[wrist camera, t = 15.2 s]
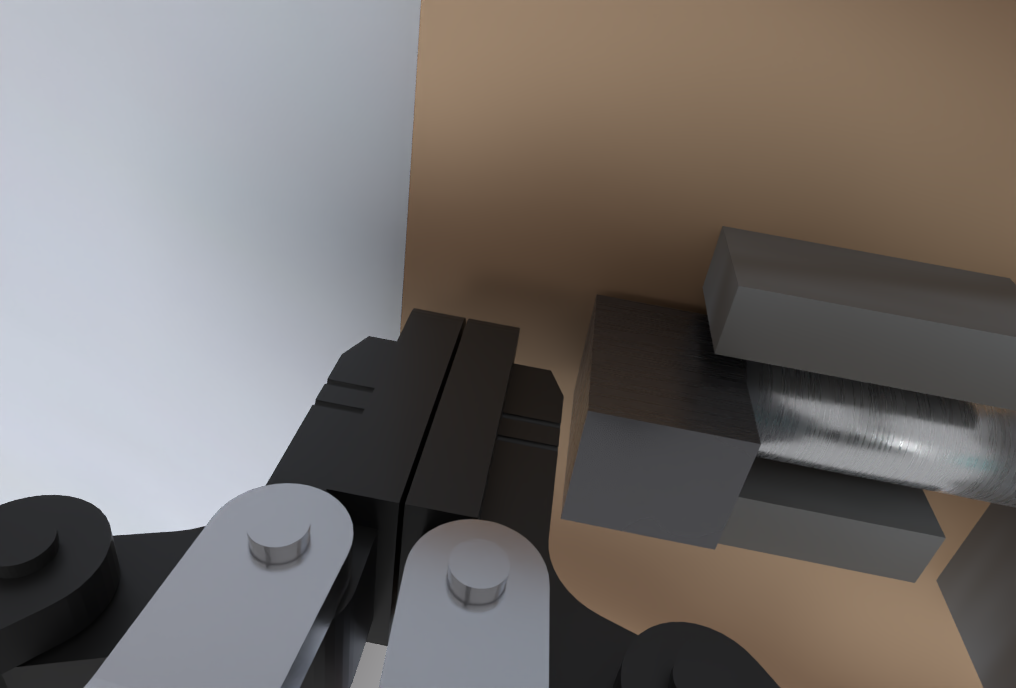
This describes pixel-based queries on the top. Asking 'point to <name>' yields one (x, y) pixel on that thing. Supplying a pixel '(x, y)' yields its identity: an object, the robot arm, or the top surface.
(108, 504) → the top surface
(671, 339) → the lock pin
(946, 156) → the dock
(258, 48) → the top surface
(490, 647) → the robot arm
